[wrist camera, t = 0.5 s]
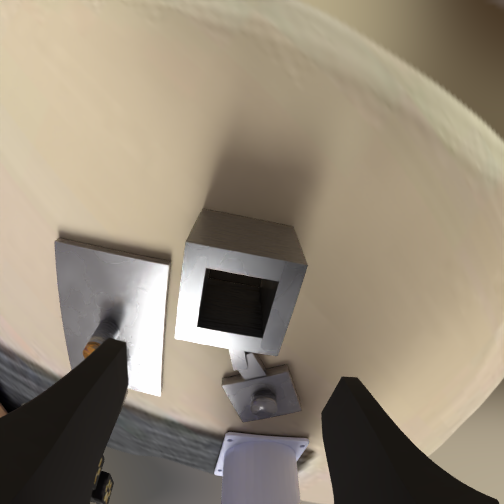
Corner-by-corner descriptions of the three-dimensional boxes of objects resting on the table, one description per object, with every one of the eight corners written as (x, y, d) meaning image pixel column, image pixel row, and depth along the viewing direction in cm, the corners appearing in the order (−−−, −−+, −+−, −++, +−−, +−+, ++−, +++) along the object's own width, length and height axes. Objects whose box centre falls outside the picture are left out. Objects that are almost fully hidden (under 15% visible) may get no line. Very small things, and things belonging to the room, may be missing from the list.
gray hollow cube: (272, 303, 20) (277, 356, 15) (190, 288, 20) (174, 338, 15) (293, 226, 18) (307, 265, 13) (202, 208, 18) (185, 242, 13)
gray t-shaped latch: (300, 403, 24) (302, 419, 22) (243, 415, 25) (242, 431, 23) (271, 317, 20) (272, 334, 19) (199, 334, 21) (196, 351, 19)
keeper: (161, 394, 24) (152, 427, 20) (75, 370, 23) (59, 399, 20) (171, 261, 19) (155, 291, 16) (59, 237, 18) (29, 260, 15)
